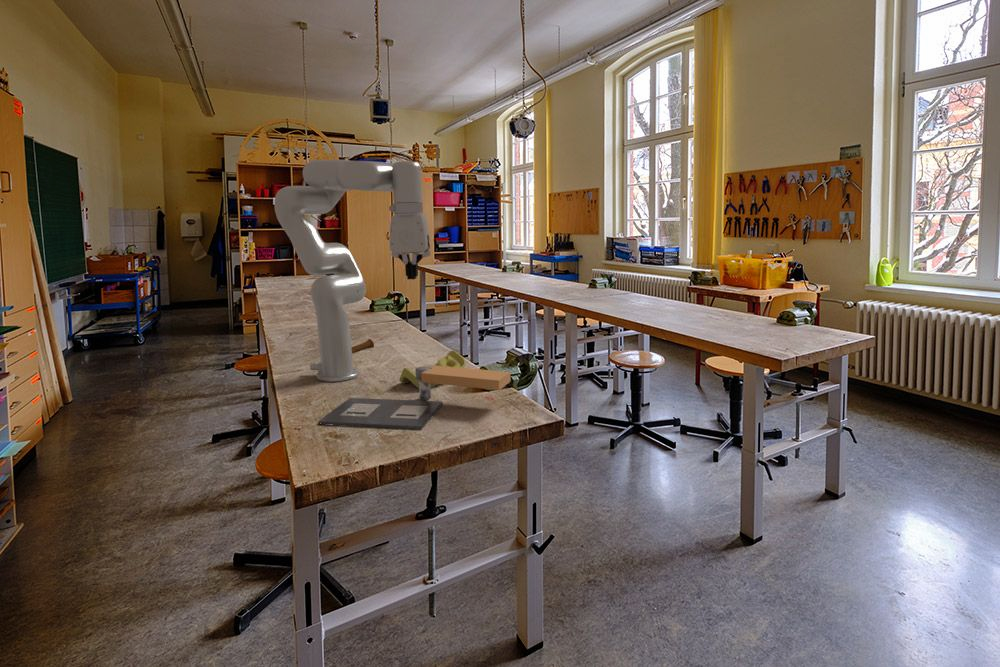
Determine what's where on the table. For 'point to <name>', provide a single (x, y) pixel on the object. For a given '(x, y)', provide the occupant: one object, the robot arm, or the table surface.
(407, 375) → the plastic component
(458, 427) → the table surface
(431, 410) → the label plate
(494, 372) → the orange rectangular block
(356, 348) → the primitive tool
